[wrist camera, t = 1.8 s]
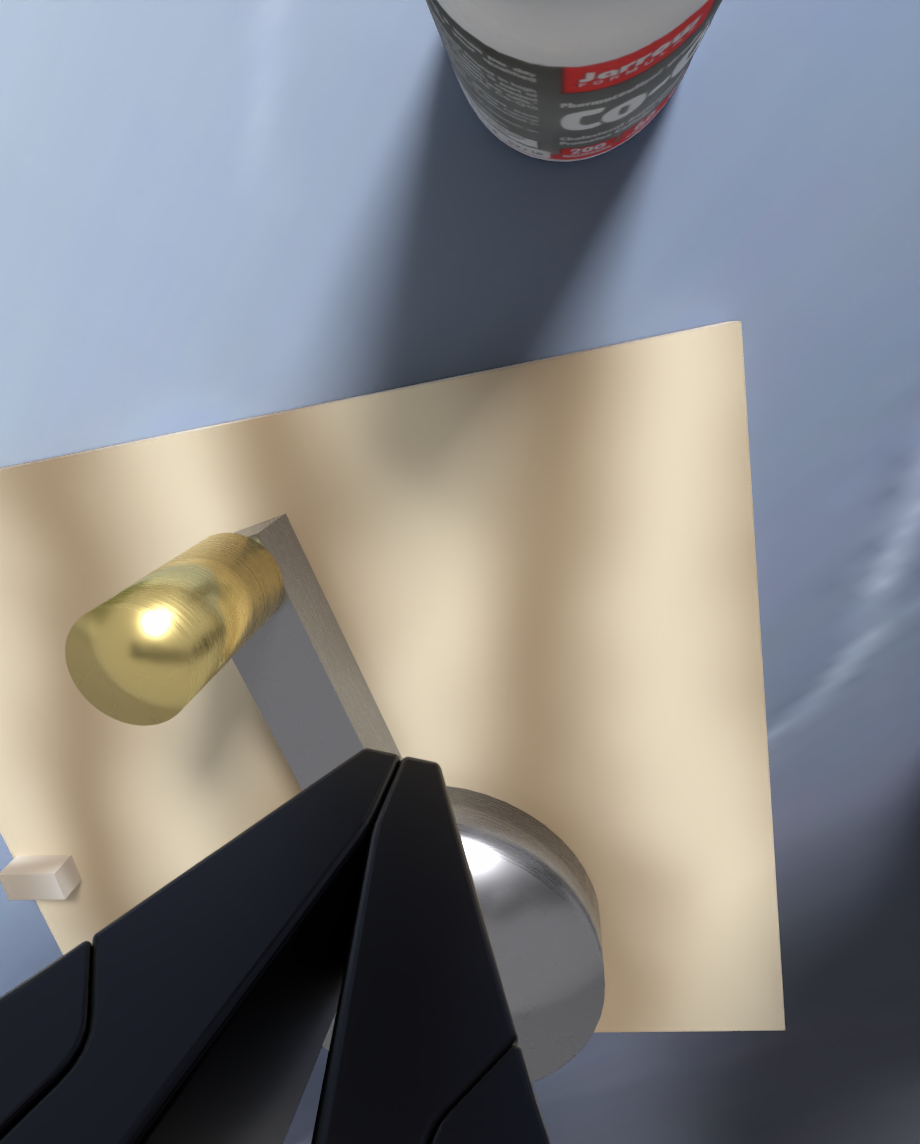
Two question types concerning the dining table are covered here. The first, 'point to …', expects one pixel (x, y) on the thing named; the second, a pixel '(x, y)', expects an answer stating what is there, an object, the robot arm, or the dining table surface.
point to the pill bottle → (569, 66)
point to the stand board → (442, 647)
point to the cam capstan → (343, 749)
